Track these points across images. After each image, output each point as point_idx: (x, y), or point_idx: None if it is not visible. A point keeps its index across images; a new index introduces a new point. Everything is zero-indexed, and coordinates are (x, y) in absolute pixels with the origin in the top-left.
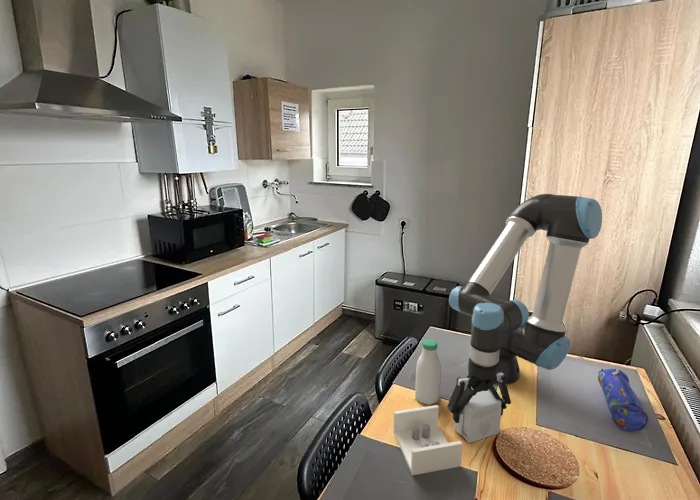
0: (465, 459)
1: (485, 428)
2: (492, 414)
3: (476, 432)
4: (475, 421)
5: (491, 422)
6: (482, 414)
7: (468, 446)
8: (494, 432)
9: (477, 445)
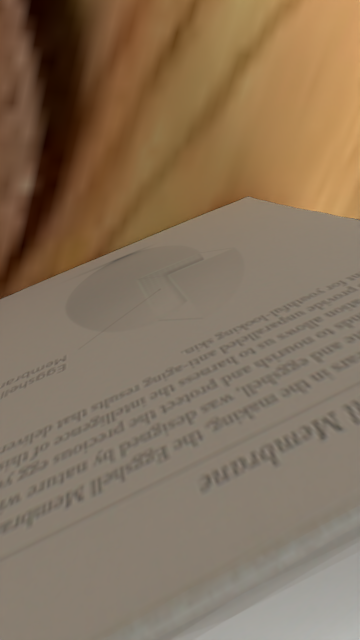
0: (340, 9)
1: (125, 278)
2: (32, 409)
3: (223, 231)
4: (331, 255)
5: (51, 331)
6: (264, 350)
7: (263, 163)
8: (18, 297)
9: (193, 172)
